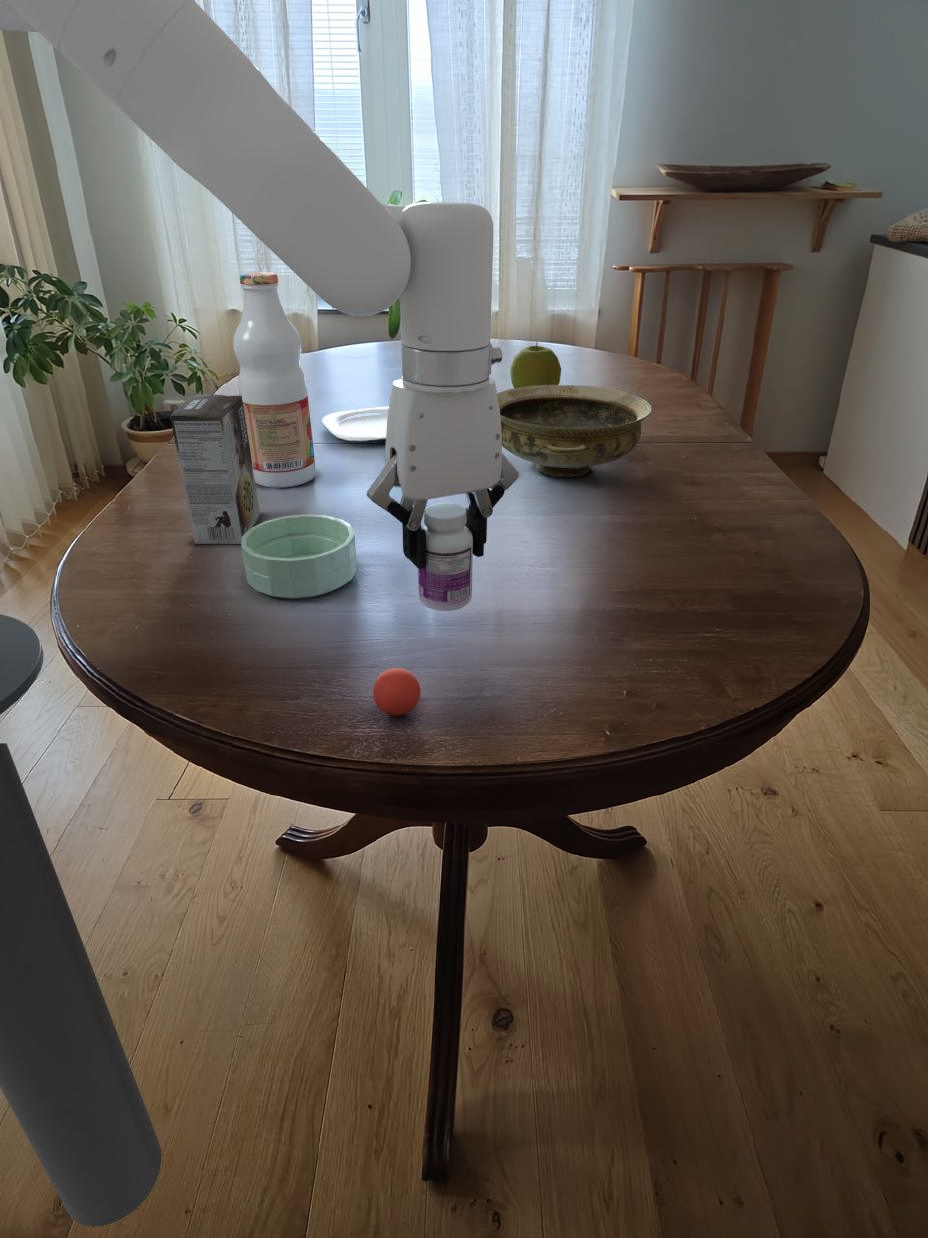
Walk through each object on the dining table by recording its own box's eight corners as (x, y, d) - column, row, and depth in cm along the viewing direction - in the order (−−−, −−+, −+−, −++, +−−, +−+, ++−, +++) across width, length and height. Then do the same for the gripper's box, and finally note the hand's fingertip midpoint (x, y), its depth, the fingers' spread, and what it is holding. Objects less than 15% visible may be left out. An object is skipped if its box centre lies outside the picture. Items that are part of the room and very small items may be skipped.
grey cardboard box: (213, 515, 105) (191, 393, 96) (261, 515, 105) (243, 393, 96) (192, 544, 97) (166, 414, 89) (244, 544, 97) (223, 414, 89)
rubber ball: (403, 731, 65) (401, 691, 63) (365, 715, 67) (361, 677, 65) (430, 706, 68) (429, 667, 66) (392, 692, 70) (390, 654, 68)
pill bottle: (423, 585, 81) (421, 497, 76) (474, 589, 81) (476, 500, 76) (414, 611, 77) (412, 519, 72) (468, 614, 76) (470, 522, 71)
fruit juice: (239, 478, 117) (206, 274, 103) (290, 462, 123) (266, 267, 109) (277, 494, 111) (249, 280, 97) (329, 476, 117) (309, 273, 103)
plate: (315, 423, 141) (314, 413, 140) (410, 411, 147) (409, 402, 146) (342, 452, 127) (341, 442, 126) (446, 438, 133) (446, 428, 132)
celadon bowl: (308, 613, 82) (302, 570, 79) (224, 585, 88) (217, 544, 85) (378, 568, 91) (375, 528, 88) (298, 545, 96) (294, 507, 94)
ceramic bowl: (649, 509, 106) (658, 436, 101) (473, 500, 109) (473, 429, 104) (639, 441, 131) (646, 380, 126) (497, 435, 134) (498, 375, 129)
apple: (501, 396, 157) (502, 338, 151) (544, 391, 160) (546, 334, 154) (523, 408, 149) (525, 348, 143) (568, 403, 152) (572, 344, 146)
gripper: (511, 349, 74) (503, 528, 83) (335, 365, 67) (348, 558, 76) (554, 365, 68) (540, 556, 77) (366, 384, 61) (376, 591, 70)
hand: (445, 555), depth 76 cm, fingers closed on pill bottle, 5 cm apart
